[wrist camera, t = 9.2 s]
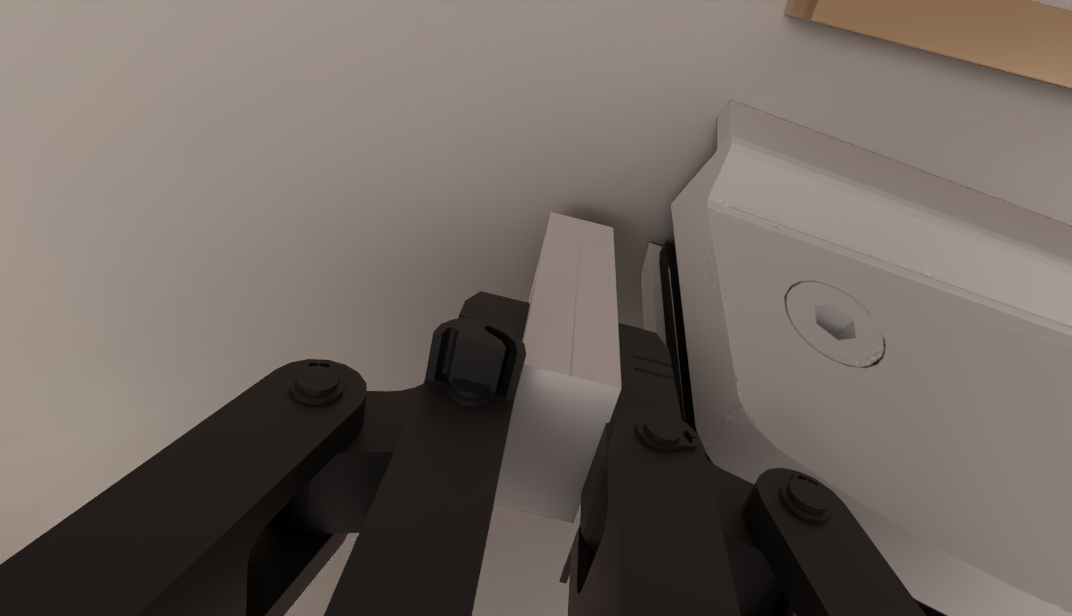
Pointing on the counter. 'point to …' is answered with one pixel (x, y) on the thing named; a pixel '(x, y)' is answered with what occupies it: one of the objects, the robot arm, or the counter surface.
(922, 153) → the counter surface
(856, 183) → the grey piece
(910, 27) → the frame
